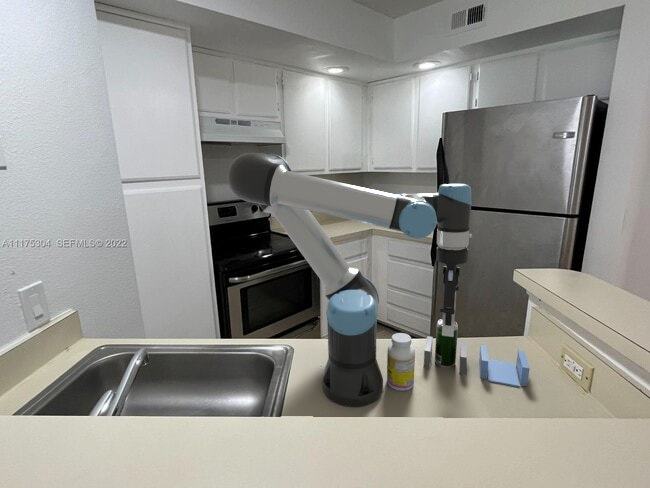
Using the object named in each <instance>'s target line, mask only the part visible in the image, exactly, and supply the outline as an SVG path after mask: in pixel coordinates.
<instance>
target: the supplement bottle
mask: <svg viewBox="0 0 650 488" xmlns="http://www.w3.org/2000/svg"><path fill="white" fill-rule="evenodd" d="M386 351H387V353H386V354H387V355H386V356H387V357H386V358H387V360H386V363H387V365H386V381H387V385H389V387H390V388H392V389H393V390H396V391H403V392H405V391H409V390H411V389H412V388H413V386H414V384H415V362H416V349H415V348H414V346H413V345H412V336H410V335H409V334H408V333H404V332H396V333H394V334H392V336H391V343H390V344H389V345H388V347H387V350H386Z"/></svg>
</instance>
